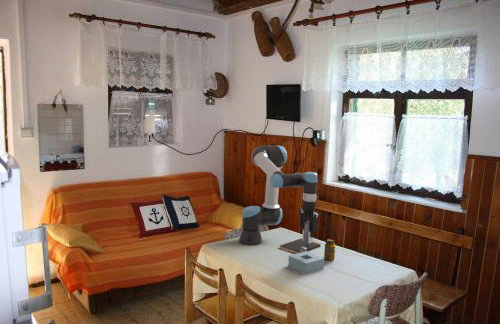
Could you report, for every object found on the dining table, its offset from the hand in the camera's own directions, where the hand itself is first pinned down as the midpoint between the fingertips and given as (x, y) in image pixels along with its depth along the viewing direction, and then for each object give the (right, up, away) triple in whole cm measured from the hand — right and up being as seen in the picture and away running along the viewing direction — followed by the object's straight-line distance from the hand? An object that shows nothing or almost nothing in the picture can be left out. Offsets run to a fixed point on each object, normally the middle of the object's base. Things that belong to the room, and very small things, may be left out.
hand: (307, 241), depth 229 cm
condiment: (+14, -14, +15) cm, 25 cm away
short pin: (0, -13, +18) cm, 22 cm away
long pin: (0, -3, 0) cm, 3 cm away
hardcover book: (0, -12, +36) cm, 38 cm away
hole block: (-1, -15, +2) cm, 15 cm away
